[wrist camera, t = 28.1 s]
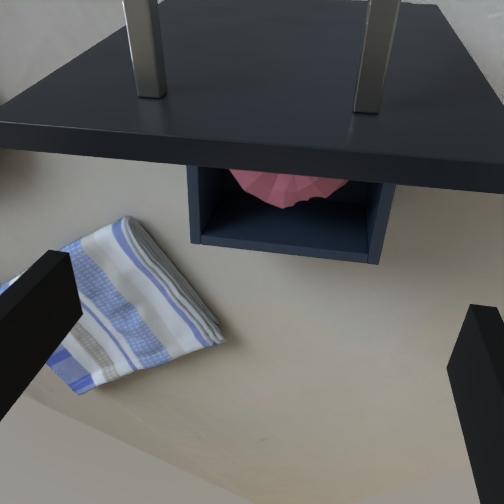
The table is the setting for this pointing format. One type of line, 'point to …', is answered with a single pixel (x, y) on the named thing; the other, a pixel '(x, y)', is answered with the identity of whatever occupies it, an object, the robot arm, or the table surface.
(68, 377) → the dish towel
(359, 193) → the blue storage box
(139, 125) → the lid
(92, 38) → the table surface
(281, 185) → the apple
